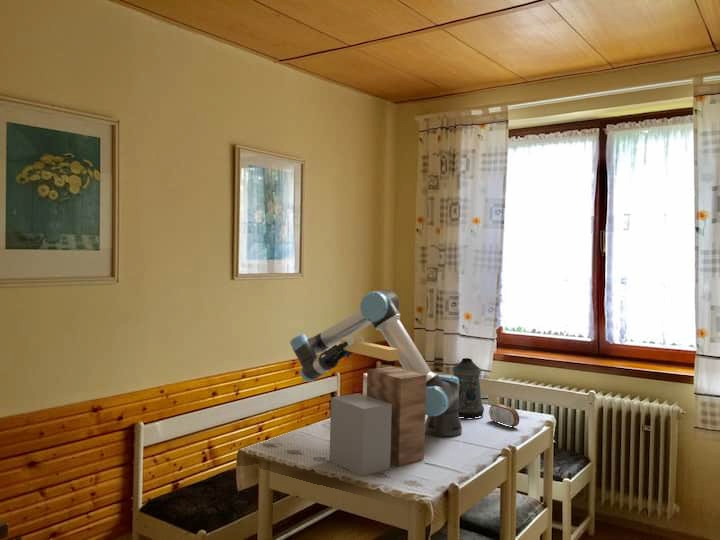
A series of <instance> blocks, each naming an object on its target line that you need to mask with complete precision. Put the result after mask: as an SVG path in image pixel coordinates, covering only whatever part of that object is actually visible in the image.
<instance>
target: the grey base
mask: <svg viewBox="0 0 720 540" xmlns="http://www.w3.org/2000/svg"><path fill="white" fill-rule="evenodd" d="M391 416H392V404H391V403H388V402H384V401H381V400H378V399H375V398H372V397H369V396H365V395H363V393H351V394H345V395H339V396H332V397H330V419H329V421H330V425H329V461H330V462H331V463H333V464H336V465H337V466H340V467H342V468H343V469H346V470H348V471H350V472H353V473H354V474H357V475H359V476H361V477H366V476H369V475H371V474H376V473H379V472H383V471H387V470H390V469H391V463H390V450H391Z"/></svg>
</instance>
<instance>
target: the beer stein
mask: <svg viewBox="0 0 720 540" xmlns="http://www.w3.org/2000/svg"><path fill="white" fill-rule="evenodd" d="M452 370H453V376H455V377H458V379H459V384H460V385H459V401H458V415H459V417H464V418H475V417H479V416H482V415H484V411H485V408H484V405H483V401H482V400H483V399H482V394H481V392H482V391H481V383H480V375H481V373H482V371H481V368H480V367H479V366H478V365H477V364H475V363H474V361H473V359H471V358H468V357H467V358H465V357H463V358H462V359H461V361H460V362H458V363H457V364H456V365H455V366H454V367H453V368H452ZM482 417H483V416H482Z"/></svg>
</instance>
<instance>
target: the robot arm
mask: <svg viewBox="0 0 720 540" xmlns="http://www.w3.org/2000/svg"><path fill="white" fill-rule="evenodd" d="M400 305H401V304H400V299H399V297H398V295H397V294H396V293H395V292H394V291H392V290H389V289H382V290H372V291H371V292H368V293H367V294H365V295H364V296H363V298H362V299H361V301H360V305H359V308H360V309H359V310H357V311H355V312H354V313H352V314H350V315H348V316H347V317H345V318H343V319H342V320H340V321H338V322H336V323H335V324H333V325H331V326H330V327H327V329H324V330H323V331H321V332H319V333H318V334H315V335H314V336H312V337H308V336H307V335H306V334H305V333H301V334H299V335H296V336H295V337H293V338H292V339H291V340H290V341H289V343H290V346H291V348H292V350H293V352H294V354H295V355H296V358H297V360H298V362H299V363H300V366H301V369H300V376H301V378H302V379H303V380H304V381H305V382H308V383H309V382H311V383H312V382H313V381H316V380H317V379H319V378H321V377H322V376H323V375H327V373H328V372H329V371H330V370H332V369H334V368H335V367H337V366H338V363H339V361H340V360H342V358H350V356H351V355H352V354H355V353H354V352H350V351H346V349H347V348H349V347H350V346H352V345H353V344H355V343H354V340H359V341H363V342H365V340H364V336H363V335H360V336H359V337H358V338H356V339H354V337H353V336H352V335H354V334H355V333H357V332H359V331H361V330H362V329H364V328H366V327H368V326H370V325H372V326H373V328H374V329H375V331H380V332H381V333H382V335H383V336H384V338H385V340H386V342H387V344H388V345H389V347H391V348H396V349H398V360H397V361H398V362H399V363H400V365H401V367H402V369H404V370H408V371H412V372H416V373H420V374H424V375H426V407H425V416H427V418H426V419H425V433H427V434H428V435H431V436H436V437H442V436H452V437H457V436H456V435H458V436H459V434H460V435H462V434H463V426H462V422H461V419H460V418H459V415H458V401H459V385H460V384H459V379H458V377H455V376H454V375H448V374H438V373H436V372H433V371H432V370H431V368H430V367H429V365H428V364H427V362H426V360H425V359H424V357H423V355H422V354H421V353H420V351H419V349H418V347H417V345H416V344H415V343H414V341H413V340H412V338H411V336H410V334H409V333H408V330H407V329H406V328H405V327H404V325H403V324H402V322H401V320H400V319H401V313H400V311H399V310H400ZM348 338H349V339H348ZM341 339H348V340H346V341H345V342H343V343H342V344H341ZM338 343H339V344H338ZM337 344H338V345H337ZM343 348H344V350H343ZM318 354H319V355H318Z"/></svg>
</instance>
